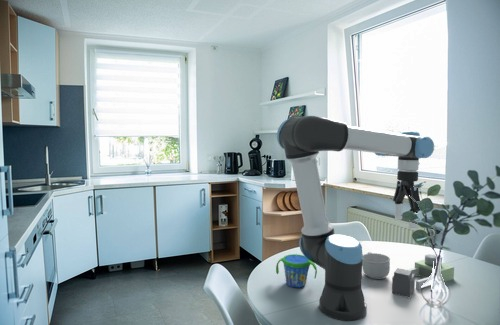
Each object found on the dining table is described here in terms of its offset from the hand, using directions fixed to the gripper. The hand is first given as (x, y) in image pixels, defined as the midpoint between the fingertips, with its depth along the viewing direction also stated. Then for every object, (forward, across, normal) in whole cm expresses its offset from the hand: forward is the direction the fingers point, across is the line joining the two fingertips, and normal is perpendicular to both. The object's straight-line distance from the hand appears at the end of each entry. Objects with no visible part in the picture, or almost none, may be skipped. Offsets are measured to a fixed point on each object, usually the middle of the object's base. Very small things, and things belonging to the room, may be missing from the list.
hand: (405, 223), depth 139 cm
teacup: (+22, +3, +10) cm, 25 cm away
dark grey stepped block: (+22, -13, +5) cm, 26 cm away
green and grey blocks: (+22, -2, -8) cm, 23 cm away
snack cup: (+23, -7, +44) cm, 50 cm away
